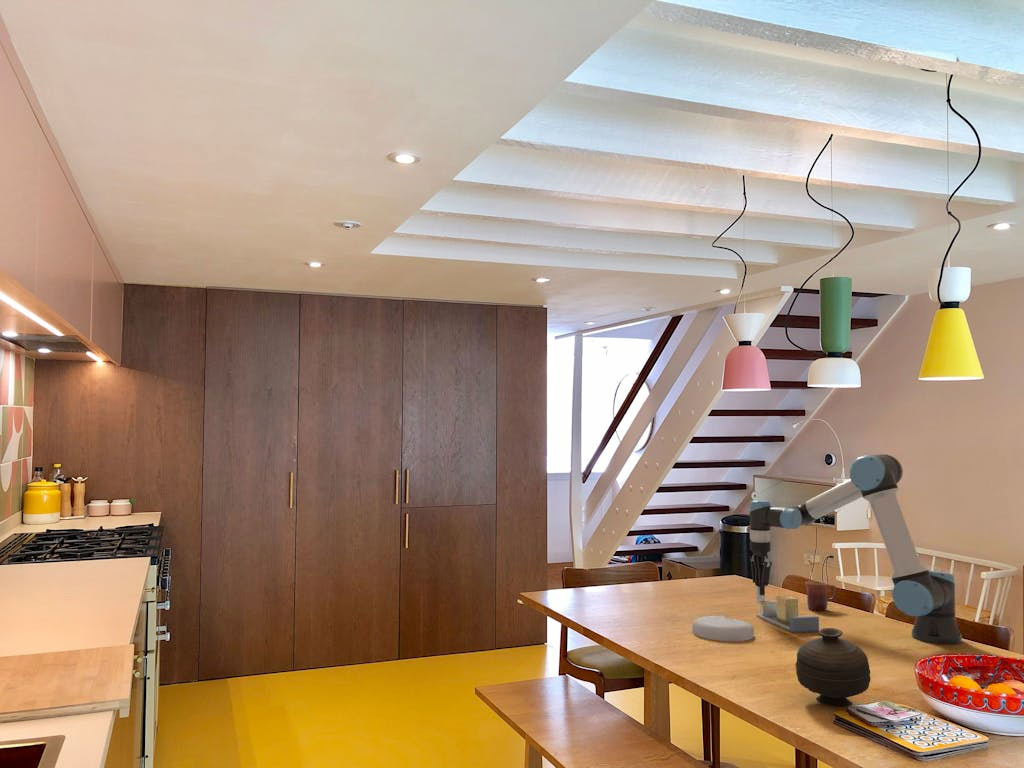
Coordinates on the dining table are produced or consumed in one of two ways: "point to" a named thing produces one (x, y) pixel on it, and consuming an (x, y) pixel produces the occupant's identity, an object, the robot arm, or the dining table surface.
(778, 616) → the brass block
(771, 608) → the slide jaw
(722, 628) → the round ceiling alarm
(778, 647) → the dining table surface
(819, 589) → the mug
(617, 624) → the dining table surface
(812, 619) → the vise body
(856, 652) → the pot
